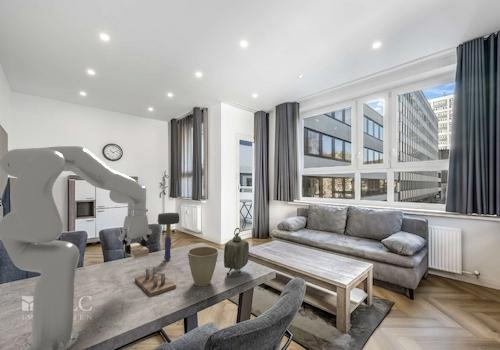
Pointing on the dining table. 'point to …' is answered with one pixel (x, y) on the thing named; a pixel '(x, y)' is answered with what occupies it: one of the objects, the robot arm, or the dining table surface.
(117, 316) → the dining table surface
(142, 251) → the oak board
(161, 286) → the wooden peg stand
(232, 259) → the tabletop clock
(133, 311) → the dining table surface
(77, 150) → the robot arm
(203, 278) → the plant pot
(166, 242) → the rubber mallet
